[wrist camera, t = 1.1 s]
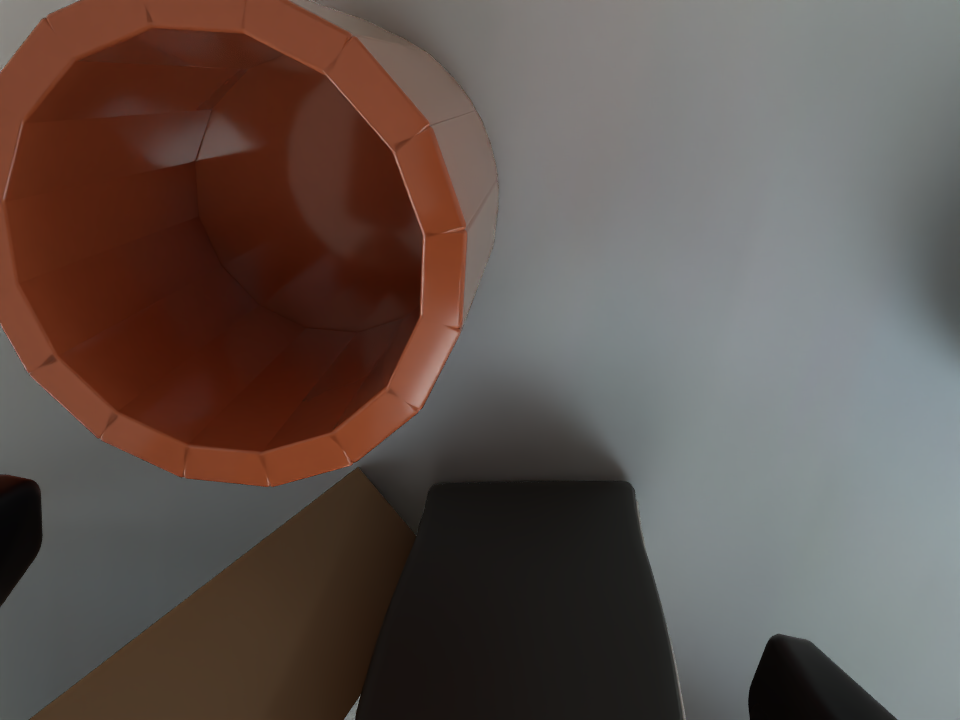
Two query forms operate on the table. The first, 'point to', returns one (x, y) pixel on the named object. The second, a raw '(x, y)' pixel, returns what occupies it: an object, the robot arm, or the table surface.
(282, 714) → the photo frame
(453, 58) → the table surface
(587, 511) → the battery charger
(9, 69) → the terracotta pot
